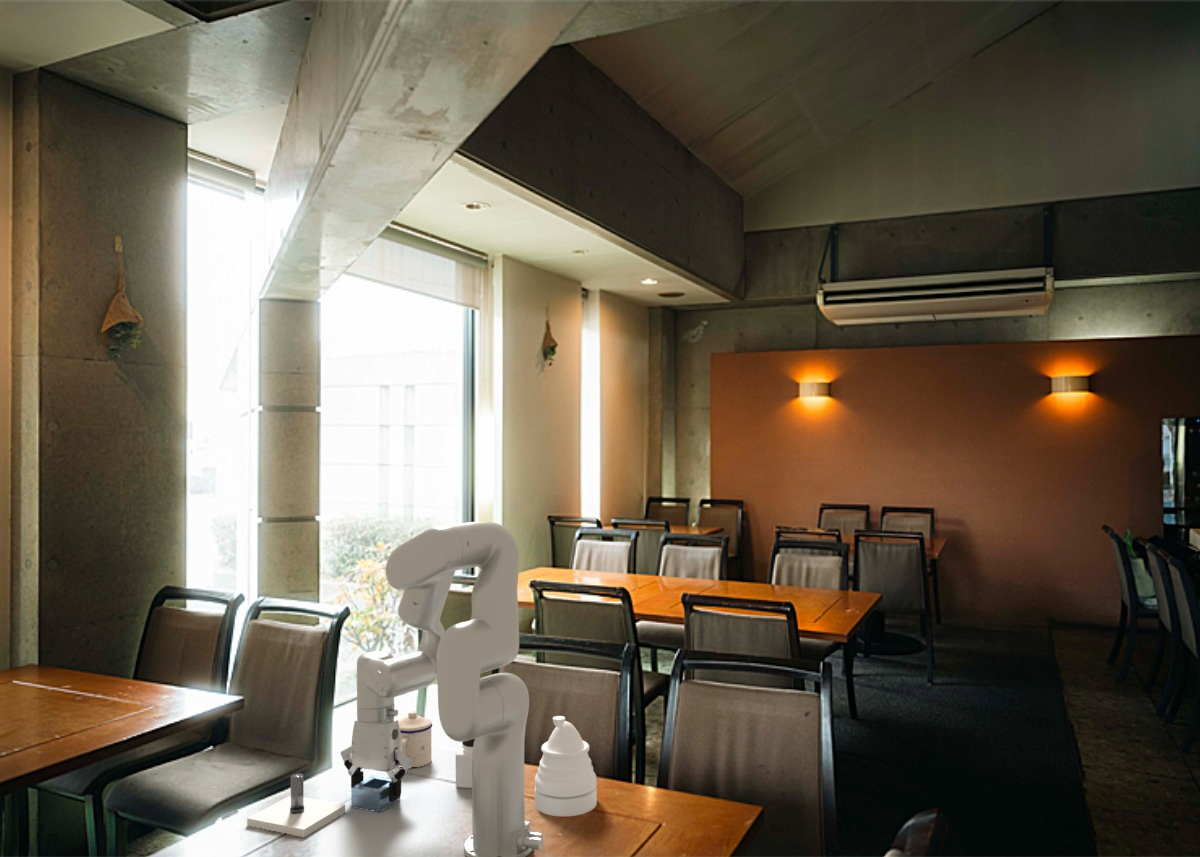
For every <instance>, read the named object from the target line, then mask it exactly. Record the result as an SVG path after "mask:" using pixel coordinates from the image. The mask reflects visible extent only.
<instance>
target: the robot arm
mask: <svg viewBox="0 0 1200 857" xmlns="http://www.w3.org/2000/svg"><path fill="white" fill-rule="evenodd" d="M386 561H387V562H386V565H385V576H386V577H385V578H386V580H387V582H388V584H389V586H391V587H392V588H393V589H395V590H397V591H401V592H403V593H402V596H401V599H400V602H399V603H398V607H397V608H398V609H397V614H398V616H399V618H400V620H401V621H402V622H404V623H405V624H407V625H408V626H409V627H411V628H414V629H417V630H420V631H422V635H421V640H420V642H419V645H418V648H417V650H416V651H415V652H411V653H406V654H403V655H399V656H396V657H394V656H393V654H392V653H391V652H389V651H386V650H385V651H384V650H375V651H367V652H364V653H362V654H360V655H359V657H358V658H357V660H356V718H355V720H354V722H353V723H354V724H353V729H352V734H351V746H349V747H347V748H345V749H344V750H341V751H340V756H341V759H342V761H343V765H344V766H345V768H346V769H347V770H348V772H347V773H348V775H349V776H350V787H353V786H355V785H357V784H358V783H360V782H362V781H364V771H363V770H362V769H365V770H370V771H371V770H372V771H377V772H384V773H386V774H387V776H388V778H390V779H391V782H389V801H390V802H393V801H395V800H396V799H398V798H400V799H401V795H402V779H403V778H405V776H406V775H407V773H409V769H411V768H410V766H411V764H412V760H411V759H410V758H409V757H407V756H406V755H405V754H404V753H403V752H402V741H401V732H400V727H399V722H398V720H399V719H398V718H397V717H398V715H399V710H398V709H395V698H396V697H399V696H401V695H402V696H403V695H405V694H407V693H413V692H415V691H419V690H421V689H425V688H428V687H429V686H432V684H433V683H434V682H435V681H436V680H437V706H438V708H437V709H438V715H439V717H438V718H439V722H440V725H441V728H442V729H443V731H444V733H445V735H446V736H447V737H448V738H449V739H450V740H453V741H455V742H460V743H462V742H464V741H469V740H472V739H475V741H474V745H473V752H472V788H471V790H472V791H471V792H472V795H471V796H472V797H471V800H472V801H471V804H472V805H471V807H472V808H471V810H472V811H471V812H472V813H471V814H472V815H471V816H472V817H471V818H472V819H471V820H472V823H471V825H472V835H470V836H469V837H468V838H467V839H466V840H465V841H464V844H463V853H464V855H465V856H466V857H527V856H528V855H529V854H530V853H531V852H532V851H533V850H537V851H541V850H543V847H544V839H543V838H544V834H543V833H542V832H537V831H535V832H534V831H532V830H531V826H530V825H531V822H530V821H527V820H525V819H526V818H525V813H526V812H525V736H526V726H527V721H528V714H529V710H530V709H529V708H530V694H529V690H528V687H527V685H526V684H525V682H524V681H523V680H522V678H520V677H519V676H517V675H516V674H514V673H510V672H499V673H494V674H490V675H487V676H484V677H481V675H482V674H484V673H487V672H490V671H493V670H496V669H499V668H502V667H505V666H508V665H510V664H511V663H512V662H514V661H515V660H516V658H517V656H518V654H519V650H520V629H519V628H520V625H519V624H520V623H519V600H518V599H519V598H518V584H519V571H520V552H519V546H518V544H517V541H516V539H515V537H514V536H513V534H512V533H511V531H510V530H509V529H507V528H506V527H505V526H503V525H501V524H500V523H496V522H493V521H469V522H462V523H454V524H452V523H451V524H444V525H437V526H434V527H430V528H428V529H426V530H424V531H423V532H421V533H419V534H417V535H416V536H414V537H413V538H411V539H409V540H406V541H405V542H404V543H402V544H400V545H398V546H397V547H396V548H395V549H393V551H392V552H391V553H390V555H389V556H388V559H387V560H386ZM476 567H477V568H478V569H479V568H480V570H479V573H477V574H478V575H477V576H476V578H475V581H474V583H473V587H472V591H471V616H470V620H466V621H461V622H458V623H455V624H453V625H451V626H449V627H448V628H447V629H446V630H445V628H444V626H443V624H442V622H441V615H442V613H443V610H444V608H445V604H446V601H447V597H448V595H449V591H450V588H451V586H452V582H453V579H454V577H455V573H456V571H459V570H460V571H462V570H466V569H472V568H476ZM401 763H402V768H400V767H399V765H400V764H401Z"/></svg>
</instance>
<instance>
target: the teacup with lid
mask: <svg viewBox="0 0 1200 857" xmlns="http://www.w3.org/2000/svg"><path fill="white" fill-rule="evenodd" d="M398 722H399V727H400V732H401V741H402V752H403V753H404V754H405V755H406V756H407V757H409V758H410V759H411V760H412V764H411V766H410V767H418V768H421V767H420V766H422V767H425V766H426V765H429V764H430V763H431V761H432V727H433V723H432V720H430V718H427V717H423V716H421V715H419V714H418V712H417V711H409V712H408V714H407V716H405V717H403V718H401V719H398ZM424 765H425V766H424ZM399 766H401V767H402V763H401V764H400V765H399Z"/></svg>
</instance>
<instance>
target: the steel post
mask: <svg viewBox="0 0 1200 857" xmlns="http://www.w3.org/2000/svg"><path fill="white" fill-rule="evenodd" d="M290 795H291V808H290V812H291V813H292V814H299V813H302V812H303V811H304V797H305V796H304V774H303V773H294V774H292V775H291V776H290Z"/></svg>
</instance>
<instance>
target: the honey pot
mask: <svg viewBox="0 0 1200 857" xmlns="http://www.w3.org/2000/svg"><path fill="white" fill-rule="evenodd" d="M552 722H553V725H554V726H555V728H554V729H553V730H552V732H551V734H550V736H549V738H548V741H546V742H544V743H543V744H542V745H541V748H540V750H541V752H542V753H543V754H542V757H541V759H540V760H539V766H538V768H537V773H535V777H534V807H535V809H537V811H539V812H540V813H543V814H544V815H549V816H553V817H573V816H580V815H584V814H587V813H589V812H591V811H592V810H593V809H595V808H596V806H597V804H598V803H597V802H598V801H597V797H598V796H597V795H598V794H597V791H598V790H597V789H598V788H597V775H596V773H595V772H594V767H593V764H592V759H591V758H590V757H589V751H590V744H589V743H588V742H587V741H585V740H583V739H582V736H581V734H580V732H579V731H578V729H576V727H575V726H574V725H573V724H572V723H571V722H569V721H567V720H566V717H565V716H563V715H556V716H553V717H552Z"/></svg>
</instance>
